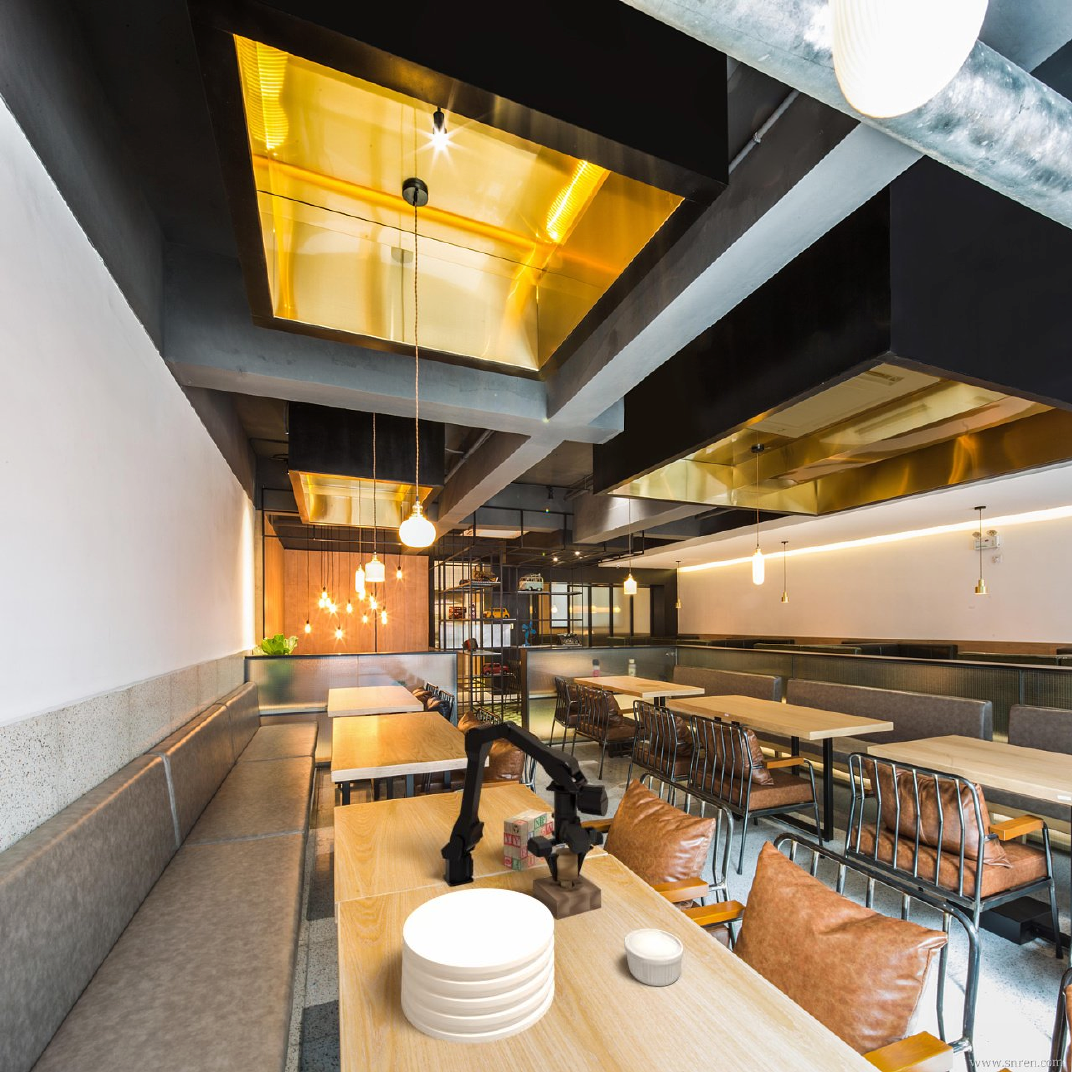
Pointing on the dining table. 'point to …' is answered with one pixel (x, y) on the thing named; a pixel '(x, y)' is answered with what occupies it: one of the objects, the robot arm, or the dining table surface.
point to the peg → (566, 867)
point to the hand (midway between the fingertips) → (566, 878)
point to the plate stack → (477, 965)
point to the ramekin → (654, 956)
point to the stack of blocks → (525, 837)
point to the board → (567, 896)
